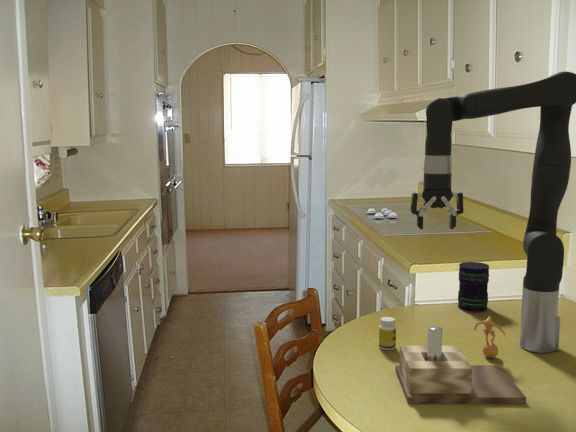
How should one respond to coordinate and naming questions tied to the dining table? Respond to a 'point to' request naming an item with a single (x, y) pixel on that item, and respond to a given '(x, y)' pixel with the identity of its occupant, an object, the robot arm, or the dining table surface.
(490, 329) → the figurine
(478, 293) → the storage jar
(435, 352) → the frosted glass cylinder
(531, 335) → the robot arm
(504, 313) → the dining table surface
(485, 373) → the walnut board
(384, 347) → the supplement bottle
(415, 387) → the beech bead block
